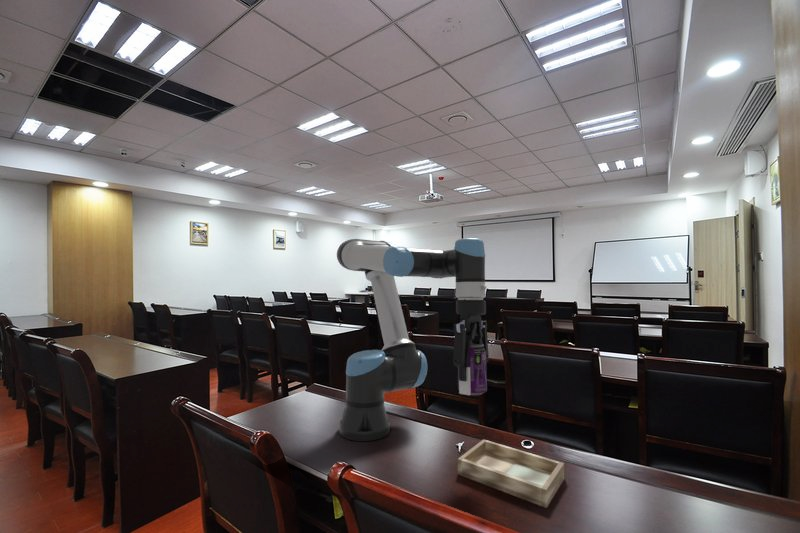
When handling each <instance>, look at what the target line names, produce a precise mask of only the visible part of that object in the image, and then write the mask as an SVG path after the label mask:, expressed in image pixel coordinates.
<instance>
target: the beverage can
mask: <svg viewBox="0 0 800 533" xmlns="http://www.w3.org/2000/svg"><path fill="white" fill-rule="evenodd" d="M483 346H484V344H480V343H479V344H474V343H471V350H470V357H469V363H468V367H470V385H471V395H470V396H481V395H482V394H484V393H486V392H487V391H488V384H487V383H488V382H487V381H488V380H487V379H488V378H487V376H488V375H487V362H486V351H485V349H484V347H483ZM457 389H458V391H459V367H458V366H457Z"/></svg>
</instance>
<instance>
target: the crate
mask: <svg viewBox="0 0 800 533" xmlns="http://www.w3.org/2000/svg"><path fill="white" fill-rule="evenodd" d="M457 475H459V476H461V477H464V478H467V479H469V480H472V481H474V482H477V483H480V484H482V485H485V486H488V487H490V488H493V489H495V490H498V491H502V492H503V493H506V494H508V495H511V496H512V497H513V496H514V497H516V498H519V499H521V500H525V501H527V502H530V503H532V504H535V505H537V506H540V507H543V508H545V509H547V508H548V506H549V505H550V503H551V501H552V500H553V498H554V497H555V495H556V493H557V492H558V491H559V488H560V487H561V486H562V483H563V482H564V481H565V462H561V461H557V460H555V459H551V458H548V457H545V456H541V455H539V454H538V455H537V454H534V453H531V452H528V451H524V450H522V449H518V448H514V447H511V446H508V445H504V444H501V443H497V442H495V441H490V440H487V439H481V440H480V441H479V442H478V443H477V444H476V445H474V446H472V448H470V449H469V450H467V451H466V452H465V453H464V454H462V455H461V456H460V457H458V458H457Z"/></svg>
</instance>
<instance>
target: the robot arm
mask: <svg viewBox="0 0 800 533" xmlns="http://www.w3.org/2000/svg"><path fill="white" fill-rule="evenodd" d="M336 259H337V262H338V263H339V265H341V267H342V268H343V269H344V268H345V269H346V270H349V271H353V272H364V276H365V278H366V281H368V282H370V284H371V289H372V295H373V297H374V298H373V299H374V303H375V308H376V312H377V317H378V322H379V326H380V331H381V337H382V340H383V344H384V345H383V347H382V349H371V350H370V349H366V350H361V351H357V352H354V353H353V354H351V355H350V356H348V359H347V361H346V369H345V379H346V380H345V406H344V409H343V412H342V418H341V420H340V422H339V428H338V430H339V431H338V433H339V435H340V436H341V437H343V438H344V439H347V440H350V441H354V442H370V441H376V440H379V439H382V438H385V437H386V436H388V434H390V430H391V429H390V426H391V425H390V420H389V418H388V415H387V409H386V406H385V394H386V393H391V392H396V391H403V390H410V389H413V388H417V387H419V386H421V385H422V384H423V383H424V381H425V379H426V377H427V374H428V373H427V372H428V362H427V357H426V356H425V354H424V353H423V352H422V351H421V350H419V349H416V348H417V347H416V343H415V342H414V341H412V340H411V339H410V338H409V334H408V333H409V332H408V330H407V325H406V322H405V317H404V312H403V309H402V304H401V301H400V300H401V299H400V297H399V296H400V295H399V291H398V287H397V283H396V279H395V277H401V278H403V277H414V278H415V277H417V278H419V277H420V278H432V279H445V278H453V277H455V297H456V298H457V300H456V301H455V312H456V314H457V315H460V320H459V323H454V324H453V331H454V338H453V359H452V363H453V365H454V367H457V368H458V367H459V390H458V391H459V392H458V393H459V394H460V395H466V396H472V395H471V385H470V367H468V363H469V357H470V350H471V343H474V344H479V343H480V344H484V346H483V347H484V349H485V351H486V363H488V362H489V354H490V353H489V344H488V331H487V328H488V321H487V320H482V316H483V315H486V314H487V305H486V304H487V302H486V300H485V297H486V290H487V286H486V267H485V265H486V253H485V243H484V241H483V240H482V239H480V238H473V237H471V238H470V237H469V238H467V237H466V238H459V239H457V240H456V241H455V243H454V249H448V250H439V249H438V250H435V249H425V248H414V247H413V248H412V247H405V246H396V245H395V244H394V243H392V242H389V241H385V240H371V239H362V238H361V239H360V238H352V239H351V238H350V239H347V240H345V241H343V242H342V243H341V244H340V245H339V247H338V249H337V251H336Z"/></svg>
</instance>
